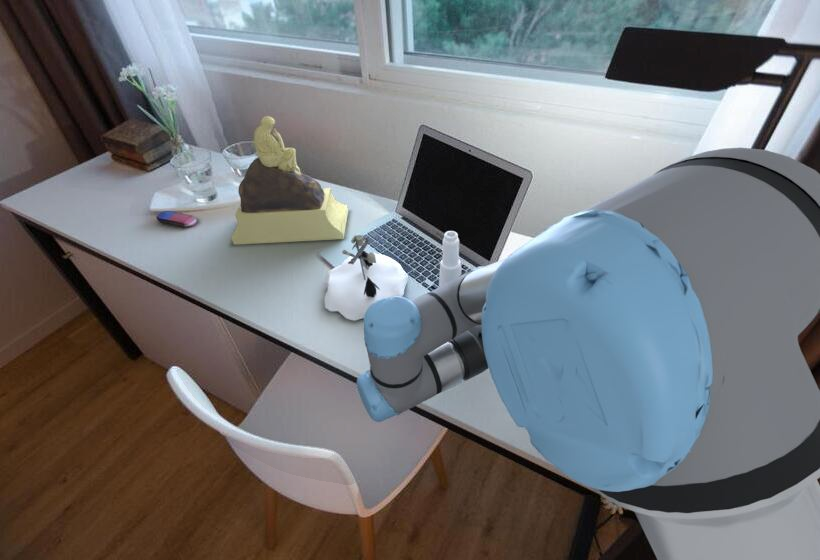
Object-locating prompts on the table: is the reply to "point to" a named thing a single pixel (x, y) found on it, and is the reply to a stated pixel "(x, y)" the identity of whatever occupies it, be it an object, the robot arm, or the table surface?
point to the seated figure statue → (284, 198)
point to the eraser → (176, 219)
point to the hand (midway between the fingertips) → (567, 306)
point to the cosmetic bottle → (450, 258)
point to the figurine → (363, 281)
